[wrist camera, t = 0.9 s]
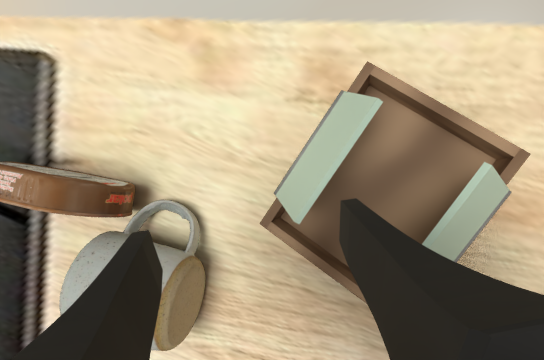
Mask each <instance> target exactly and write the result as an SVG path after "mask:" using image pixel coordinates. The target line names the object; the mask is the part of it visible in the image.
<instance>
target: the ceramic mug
mask: <svg viewBox="0 0 544 360" xmlns="http://www.w3.org/2000/svg"><path fill="white" fill-rule="evenodd" d="M159 210H168V211H171V212H174V213H177V214H179V215H180V216H181V217H182V218H183V219H187V220H189V223H190V230H191V232H190V237H189V242H188V244H187V248H186V250H185V251H182V250H179V249H175V248H172V247H169V246H166V245H161V244H157V243H154V242H153V243H154V246H155V249H156V252H157V255H158V258H159V260H160V263H161V266H162V269H163V277H162V294H161V300H160V306H159V311H158V316H157V321H156V327H155V332H154V337H153V342H152V347H151V350H158V351H167V350H171V349H173V348H175V347H176V346H177V345H179V344H180V343H181V342H182V341H183V340H184V339H185V338H186V336H187V335H188V334H189V332H190V330H191V328H192V327H193V324H194V322H195V320H196V318H197V316H198V313H199V310H200V307H201V303H202V299H203V296H204V289H205V271H204V268H203V265H202V263H201V262H200V260H199V259H198V258H196V257H195V255H194V254H195V252H196V249H197V247H198V244H199V235H200V229H199V224H198V220H197V219H196V217H195V216H194V214H193V213H192V212H191V211H190V210H189V209H187V208H186V207H185V206H183V205H181V204H179V203H178V202H175V201H171V200H158V201H154V202H152V203H150V204H148V205H146V206H145V207H143V208H142V209H141V210H140V211H139V212H138V213H137V214H136V215H135V216H134V217H133V218H132V219H131V221H130V222H129V224H128V225H127V227H126V228H125V230H124V232H117V231H109V232H106V233H103V234H100V235H98V236H97V237H95V238H94V239H93V240H91V241H90V242H89V243H88V244H87V245H86V246H85V247H84V248H83V249H82V250H81V251H80V253H79V254H78V255H77V257H76V258H75V260H74V261H73V263H72V265H71V267H70V268H69V270H68V272H67V274H66V277H65V279H64V282H63V285H62V290H61V293H60V313H61V315H62V314H63V313H64V312H65V311H66V310H67V309H68V308H69V307H70V306H71V305H72V304H73V303H74V302H75V301H76V300H77V299H78V298H79V297H80V296H81V294H82V293H83V292H84V291H85V290H86V289H87V288H88V286H89V285H90V284H91V283H92V282H93V281H94V280H95V279H96V277H97V276H98V275H99V274H100V272H101V271H102V270H103V269H104V267H105V266H106V265H107V264H108V263H109V261H110V260H111V259H112V257H113V256H114V255H115V254H116V252H117V251H118V250H119V248H120V247H121V246H122V244H123V243H124V242H125V241H126V239H127V238H128V237H129V236H130V234H131V233H133V232H138V231H139V229H140V228H141V226H142V225H143V223H144V222H145V221H146V220H147V219H148V218H149V217H150V216H151V215H153V214H154V213H155V212H158V211H159Z"/></svg>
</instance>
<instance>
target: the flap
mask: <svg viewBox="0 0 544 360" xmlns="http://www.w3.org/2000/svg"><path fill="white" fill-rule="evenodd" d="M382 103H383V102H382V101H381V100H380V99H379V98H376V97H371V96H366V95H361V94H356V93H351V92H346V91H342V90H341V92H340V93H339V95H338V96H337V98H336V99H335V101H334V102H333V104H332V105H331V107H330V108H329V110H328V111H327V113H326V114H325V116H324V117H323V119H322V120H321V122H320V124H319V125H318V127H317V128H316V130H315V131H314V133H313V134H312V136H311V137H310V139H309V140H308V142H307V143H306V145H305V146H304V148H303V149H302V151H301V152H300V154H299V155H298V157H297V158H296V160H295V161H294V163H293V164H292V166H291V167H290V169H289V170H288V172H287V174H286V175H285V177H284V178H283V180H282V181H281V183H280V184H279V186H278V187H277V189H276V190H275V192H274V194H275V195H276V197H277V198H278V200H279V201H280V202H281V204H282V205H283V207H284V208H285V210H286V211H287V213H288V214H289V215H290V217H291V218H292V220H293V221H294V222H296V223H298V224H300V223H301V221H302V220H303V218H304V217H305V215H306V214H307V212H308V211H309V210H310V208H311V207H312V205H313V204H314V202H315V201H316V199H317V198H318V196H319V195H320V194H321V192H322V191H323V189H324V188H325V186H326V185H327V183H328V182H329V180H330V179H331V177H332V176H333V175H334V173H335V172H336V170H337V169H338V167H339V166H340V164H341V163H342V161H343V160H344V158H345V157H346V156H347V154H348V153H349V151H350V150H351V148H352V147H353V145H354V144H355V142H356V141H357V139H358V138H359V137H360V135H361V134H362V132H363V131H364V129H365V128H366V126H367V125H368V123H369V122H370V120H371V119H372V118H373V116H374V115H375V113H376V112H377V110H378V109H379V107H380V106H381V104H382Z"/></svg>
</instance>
